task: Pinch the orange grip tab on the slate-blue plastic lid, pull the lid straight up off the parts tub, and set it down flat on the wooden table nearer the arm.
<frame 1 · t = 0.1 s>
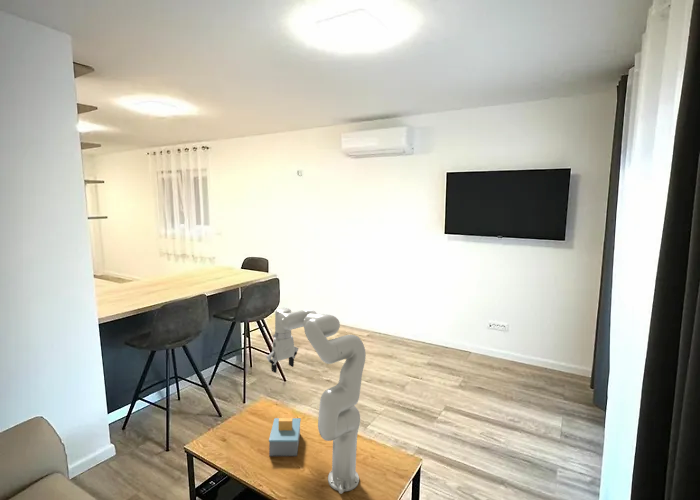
hand: (282, 368, 181), 31 cm above the table, tool pointing down, fingers open, 9 cm apart
tub lid: (285, 430, 173), point 7 cm above the table, touching parts tub
parts tub: (285, 444, 174), on the table
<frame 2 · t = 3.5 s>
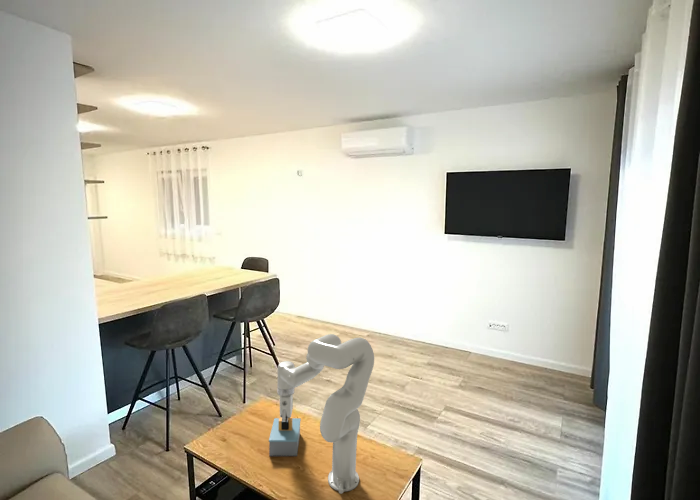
hand: (285, 427, 173), 9 cm above the table, tool pointing down, fingers closed on tub lid
tub lid: (285, 430, 173), point 7 cm above the table, touching gripper, parts tub
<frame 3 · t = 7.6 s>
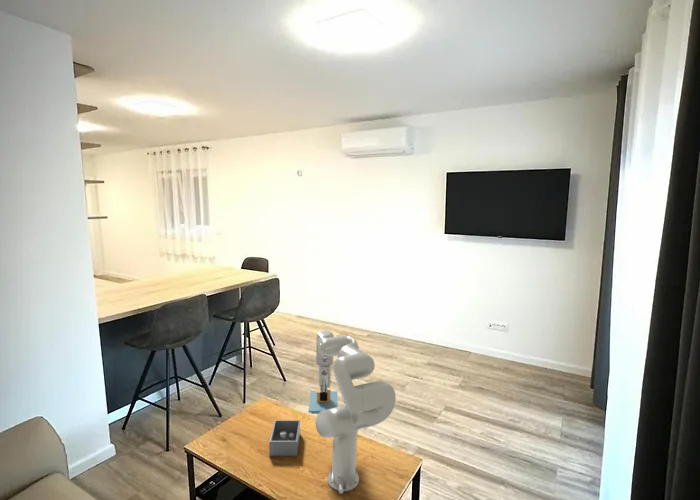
hand: (323, 398, 169), 24 cm above the table, tool pointing down, fingers closed on tub lid
tub lid: (323, 402, 170), point 22 cm above the table, touching gripper
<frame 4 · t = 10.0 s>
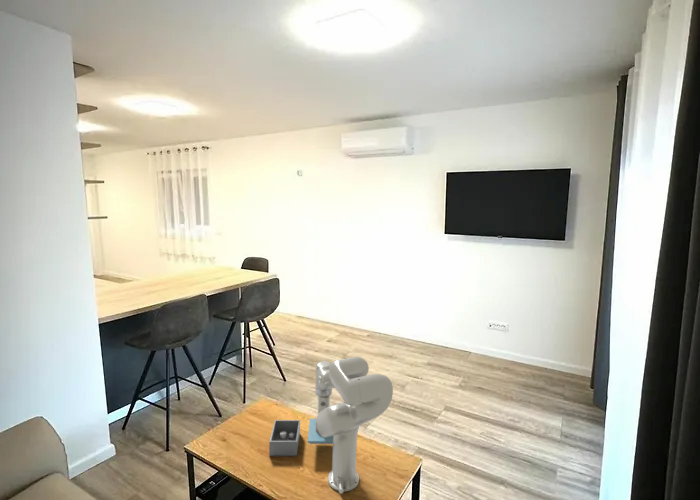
hand: (322, 427, 172), 10 cm above the table, tool pointing down, fingers closed on tub lid
tub lid: (322, 431, 172), point 8 cm above the table, touching gripper
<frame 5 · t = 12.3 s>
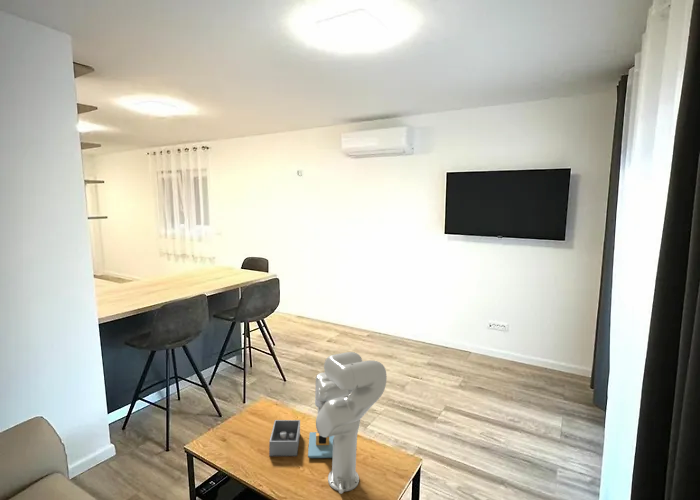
hand: (322, 436, 172), 5 cm above the table, tool pointing down, fingers open, 8 cm apart
tub lid: (322, 444, 172), point 1 cm above the table
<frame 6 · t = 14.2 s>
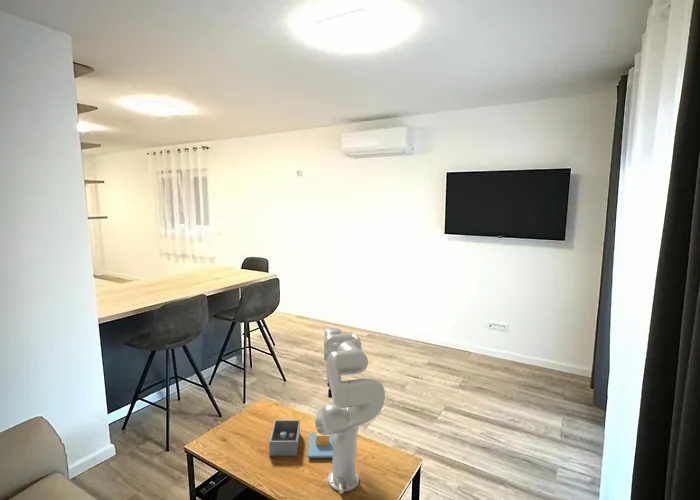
hand: (331, 391, 172), 26 cm above the table, tool pointing down, fingers open, 9 cm apart
nothing on the table moved.
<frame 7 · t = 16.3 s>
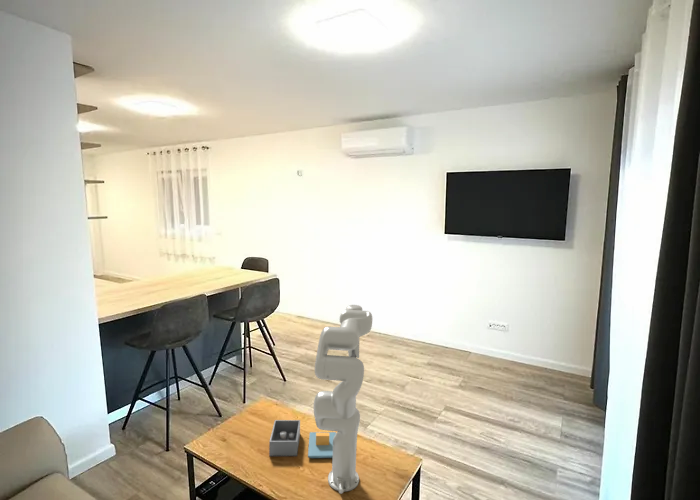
hand: (352, 366, 178), 34 cm above the table, tool pointing down, fingers open, 9 cm apart
nothing on the table moved.
at the end: tub lid inside the target area (0.0 cm from its centre), point 1.2 cm above the table; tub lid touching table; tub lid tilted 0° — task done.
